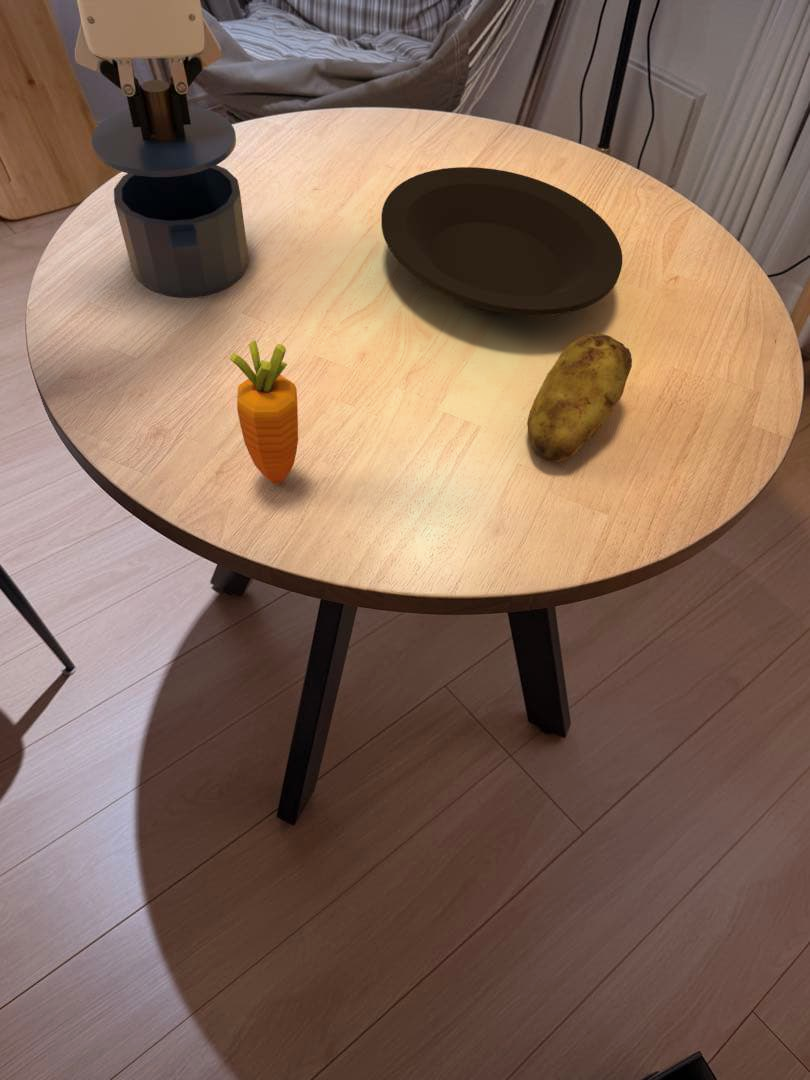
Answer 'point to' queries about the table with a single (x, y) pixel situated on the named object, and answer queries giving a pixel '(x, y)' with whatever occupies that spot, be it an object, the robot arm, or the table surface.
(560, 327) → the table surface
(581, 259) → the plate
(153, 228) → the pot
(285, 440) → the carrot
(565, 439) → the potato
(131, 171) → the lid
